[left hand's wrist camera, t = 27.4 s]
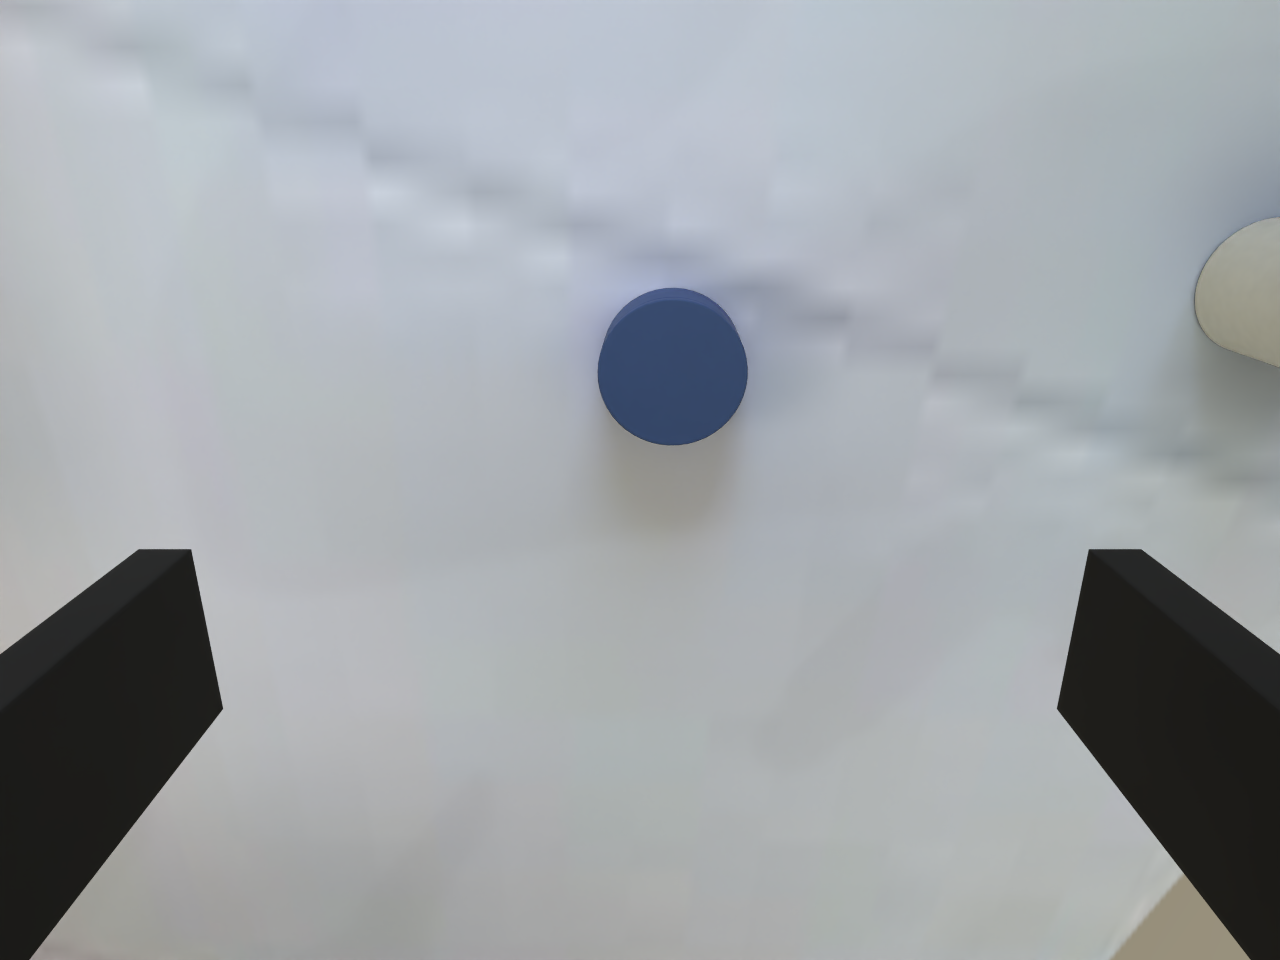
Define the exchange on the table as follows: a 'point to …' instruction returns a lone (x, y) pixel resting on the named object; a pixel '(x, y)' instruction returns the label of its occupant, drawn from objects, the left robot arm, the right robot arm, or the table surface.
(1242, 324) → the jar
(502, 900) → the table surface
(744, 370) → the lid
